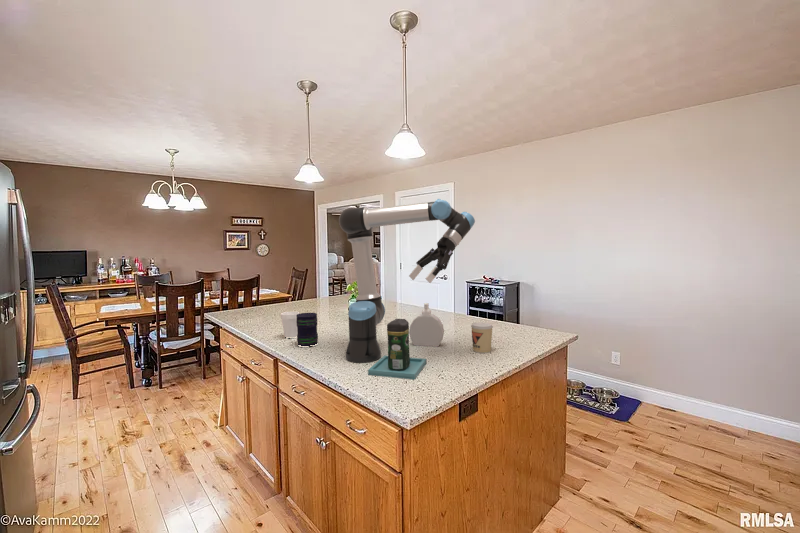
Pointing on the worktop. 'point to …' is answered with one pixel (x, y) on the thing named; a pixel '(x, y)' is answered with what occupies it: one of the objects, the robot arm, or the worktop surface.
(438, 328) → the soap bottle
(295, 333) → the foam cup
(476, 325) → the coffee cup
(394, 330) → the coffee jar
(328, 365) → the worktop surface
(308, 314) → the storage jar
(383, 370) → the tray
